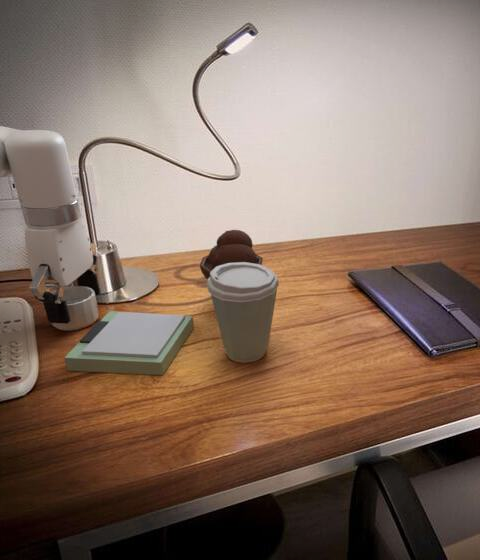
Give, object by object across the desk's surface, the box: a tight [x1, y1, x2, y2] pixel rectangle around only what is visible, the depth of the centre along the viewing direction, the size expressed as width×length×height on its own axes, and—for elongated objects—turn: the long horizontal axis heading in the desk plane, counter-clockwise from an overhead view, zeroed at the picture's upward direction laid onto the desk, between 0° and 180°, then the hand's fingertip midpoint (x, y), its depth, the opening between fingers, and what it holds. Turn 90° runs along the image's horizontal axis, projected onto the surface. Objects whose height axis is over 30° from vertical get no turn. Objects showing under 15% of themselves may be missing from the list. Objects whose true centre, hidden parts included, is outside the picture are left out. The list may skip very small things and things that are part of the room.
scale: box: [64, 310, 195, 376], centre depth 85 cm, size 14×14×3 cm
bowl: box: [50, 285, 100, 332], centre depth 90 cm, size 7×7×5 cm
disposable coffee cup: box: [206, 262, 280, 364], centre depth 83 cm, size 11×11×15 cm
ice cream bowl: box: [199, 229, 264, 281], centre depth 96 cm, size 11×11×15 cm
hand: (76, 307), depth 90 cm, fingers open, 9 cm apart
